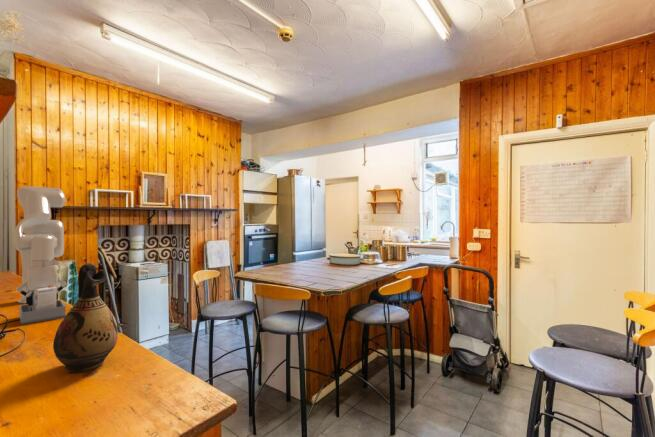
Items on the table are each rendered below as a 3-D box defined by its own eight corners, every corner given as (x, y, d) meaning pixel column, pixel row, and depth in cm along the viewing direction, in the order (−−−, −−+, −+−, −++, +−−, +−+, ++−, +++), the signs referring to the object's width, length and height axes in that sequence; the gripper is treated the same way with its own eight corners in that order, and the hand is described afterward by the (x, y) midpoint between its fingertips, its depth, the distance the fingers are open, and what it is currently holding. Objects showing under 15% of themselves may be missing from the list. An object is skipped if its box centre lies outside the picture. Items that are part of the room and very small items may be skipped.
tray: (19, 316, 140) (19, 305, 140) (60, 310, 150) (60, 299, 150) (21, 325, 130) (21, 312, 130) (65, 317, 140) (65, 306, 140)
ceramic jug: (127, 362, 97) (127, 263, 97) (64, 383, 84) (64, 270, 84) (103, 348, 107) (103, 259, 107) (43, 366, 94) (44, 265, 94)
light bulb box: (27, 311, 140) (28, 286, 140) (47, 307, 146) (47, 284, 145) (37, 315, 134) (37, 289, 134) (57, 311, 140) (57, 286, 140)
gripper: (66, 261, 149) (66, 298, 149) (14, 264, 136) (14, 305, 136) (69, 262, 144) (69, 301, 144) (15, 266, 131) (15, 309, 131)
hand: (42, 303), depth 140 cm, fingers closed on light bulb box, 7 cm apart
